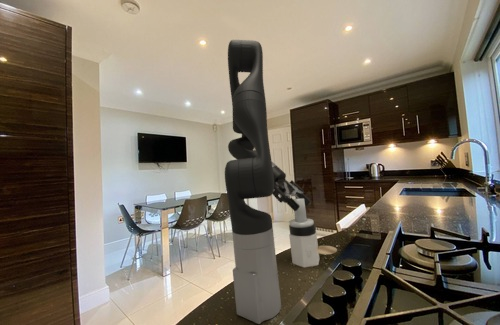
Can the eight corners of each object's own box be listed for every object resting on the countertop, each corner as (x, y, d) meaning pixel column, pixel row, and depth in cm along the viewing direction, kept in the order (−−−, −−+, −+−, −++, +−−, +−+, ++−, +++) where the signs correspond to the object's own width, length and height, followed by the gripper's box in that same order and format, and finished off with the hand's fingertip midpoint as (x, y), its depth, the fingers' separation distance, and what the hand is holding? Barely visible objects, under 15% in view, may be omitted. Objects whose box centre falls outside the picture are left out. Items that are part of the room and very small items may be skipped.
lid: (308, 229, 61) (304, 201, 61) (285, 227, 66) (282, 201, 66) (317, 222, 67) (314, 197, 67) (296, 221, 72) (293, 197, 72)
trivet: (333, 257, 67) (332, 255, 67) (309, 253, 72) (309, 252, 72) (340, 248, 74) (339, 247, 74) (317, 245, 78) (317, 244, 79)
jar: (297, 270, 61) (292, 229, 62) (288, 259, 69) (284, 223, 70) (325, 265, 62) (321, 225, 63) (314, 255, 70) (309, 219, 71)
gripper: (263, 165, 66) (300, 201, 59) (285, 164, 78) (319, 194, 70) (252, 183, 69) (286, 219, 62) (274, 179, 81) (306, 210, 73)
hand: (303, 206), depth 66 cm, fingers open, 8 cm apart
